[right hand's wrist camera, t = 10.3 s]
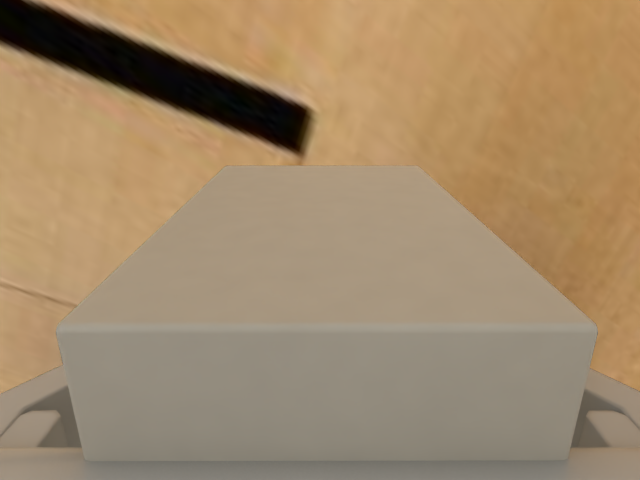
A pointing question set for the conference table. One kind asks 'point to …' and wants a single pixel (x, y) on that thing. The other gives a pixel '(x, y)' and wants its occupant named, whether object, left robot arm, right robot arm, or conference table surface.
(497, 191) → the conference table surface
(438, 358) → the bar
